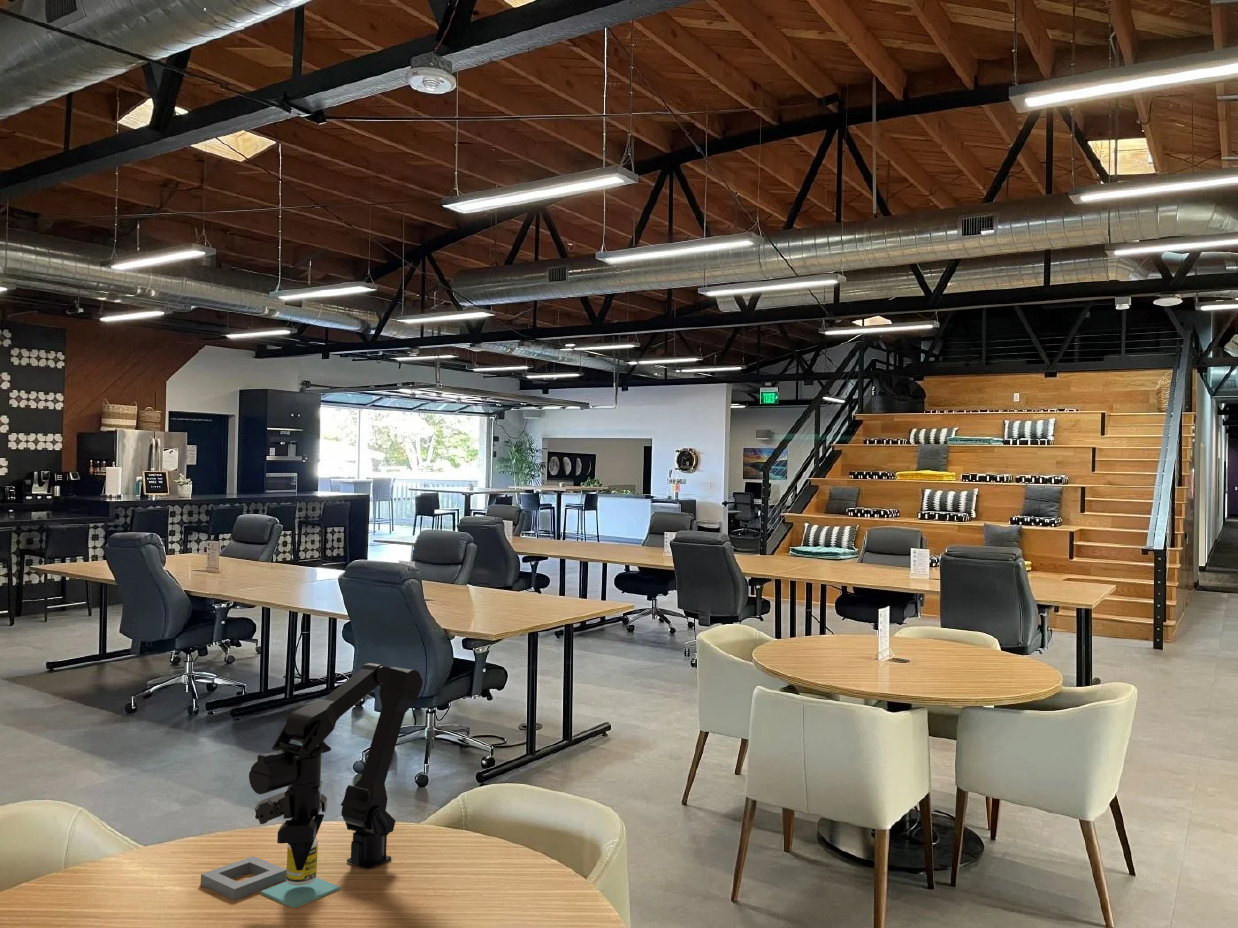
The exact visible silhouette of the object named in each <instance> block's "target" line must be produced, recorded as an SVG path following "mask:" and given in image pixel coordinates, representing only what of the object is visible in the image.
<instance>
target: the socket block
mask: <svg viewBox="0 0 1238 928" xmlns="http://www.w3.org/2000/svg"><path fill="white" fill-rule="evenodd" d="M286 870H287V868H285V867H281V866H279V865H276V864H274V863H271V862H268V860H267V861H266V860H264V859H262V858H259V857H256V856H254V855H252V856H249V857H247V858H244V859H243V858H242V859H241V860H238V861H235V862H232V863H229V864H226V865H224V866H219V867H217V868H213V869H211V870H209V871H206V872H203V873H201V874H200V886H202V887H205V888H206V889H209V890H211V891H213V892H215V893H217V894H220V895H222V896H224V897H227V898H228V899H231V900H232V901H236V900H238V899H241V898H244V897H247V896H249V895H251V894H254V893H256V892H261V891H263V890H265V889H268V888H271V887H273V886H276V885H278V884H281V883H284V882H286ZM246 874H251V875H254V876H251V877H248V878H246V879H243V880H240V881H237V880H235V878H238V877H241V876H244V875H246Z"/></svg>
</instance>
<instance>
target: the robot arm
mask: <svg viewBox="0 0 1238 928" xmlns="http://www.w3.org/2000/svg"><path fill="white" fill-rule="evenodd" d="M378 687H379V690H378V691H379V692H378V694H379V695H378V696H379V700H380V705H381V710H380V712H379V716H378V719H377V724H376V726H375V730H374V733H373V737H372V739H371V743H370V747H369V749H368V753H367V756H366V759H365V763H364V766H363V768H362V772H361V776H360V778H359V780H357V781H356V782H355V784H354V785H351V784H348V785H347V787H346V788H345V793H344V796H343V797H344V798H343V800H342V801H341V803H340V806H342V807H341V817H342V818H343V821H344V822H345V826H346V829H347V831H353V832H352V841H351V844H350V858H347V859H346V862H347V863H348V864H350V865H353V866H357V867H359V868H362V869H364V870H370V869H373V868H375V867H377V866H380V865H382V864H384V863H388V862H389V861H391V860H392V856H389V855H387V846H388V845H387V844H388V842H387V840H388V836H389V834H390V833H392V832H394V829H395V825H396V819H395V818H394V817H392V815H391V814H390V813H389V812H388V811H387V810H386V809H387V804H388V794H387V793H388V792H387V790H386V789H387V788H386V784H385V783H386V780H387V776H388V772H389V771H390V770H389V769H390V766H391V763H392V759H393V756H394V752H395V749H396V746H397V742H398V739H399V735H400V731H401V728H402V725H403V721H404V718H405V715H406V713H407V712H408V711H409V710H410V709H411V707H413V705H414V704H415V703H416V702H417V700H418V698H419V695H420V693H421V690H422V688H423V678H422V676H421V674H420V672H419V671H418V670H416V669H409V668H402V667H395V666H391V667H388V666H386V665H384V664H381V663H380V664H379V663H373V662H368V663H365V664H363V665H362V667H361V668H360V670H358V671H357V672H356V673H354V674H353V675H352V676H351V677H350V678H348V679H347V680H346V681H344V682H343V683H342V684H341V685H339V686H338V687H337V688H335V689H334V690H333V691H331V692H330V693H329V694H327V695H326V696H325V697H324V698H322V699H320V700H319V701H317V702H313V703H310V704H306V705H304V706H302V707H300V708H299V709H296V710H294V711H293V712H291V713H290V714H289V715H288V717H287V718H286V720H285V721H286V722H285V724H284V726H283V728H282V729H281V731H280V733H279V735H278V737H277V738H276V740H275V742H274V743H273V746H272V747H271V750H272V751H271V752H268V753H265V752H264V753H260V754H258V755H257V759H256V760H257V761H255V762H254V764H252V766H251V768H250V771H249V773H248V779H249V780H248V781H249V784H250V787H251V789H252V790H253V792H255V793H256V794H257V795H263V794H267V793H271V792H274V791H277V790H280V789H282V788H286V789H285V791H284V792H280V793H278V794H275V795H272V796H269V797H267V798H264V799H262V800H260V801H259V802H257V804H256V806H255V807H254V810H255V811H254V812H255V815H254V818H255V820H258V822H259V824H260V825H264V824H267V822H268V821H269V822H270V821H271V820H274V819H277V818H279V817H283V820H284V822H283V823H282V824H281V826H280V827H279V828H278V831H277V839H276V841H277V844H280V845H281V844H287V845H288V844H289V845H290V846H291V850H292V854H293V858H294V862H295V866H296V870H303V868H304V865H305V863H306V860H307V858H308V855H309V853H310V850H311V848H312V845H313V843H314V840H315V838H317V835H318V832H319V829H320V828H321V825H322V822H323V820H324V817H325V814H323V813H326V811H327V808H328V798H327V796H326V795H324V793H321V789H322V787H323V780H322V754H325V753H328V752H331V751H332V747H331V746H329V745H328V744H327V743H326V742H325V740H326V739H327V738H328V737H329V735H331V733H332V732H333V731H334V729H335V728H336V727H335V726H336V724H337V722H338V720H339V719H340V718H341V717H342V716H343V715H344V714H346V713H347V712H348V711H349V710H350V709H352V708H353V707H354V706H356V705H357V704H358V703H359V702H360V701H362V700H363V699H364V698H365V697H366V696H368V695H369V694H370V693H371V692H372V691H374V690H375V689H377V688H378ZM292 742H295V743H299V744H302V745H299V744H295V743H292ZM320 811H321V812H322V813H321V814H320ZM285 819H286V820H285Z"/></svg>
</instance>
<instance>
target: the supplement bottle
mask: <svg viewBox="0 0 1238 928" xmlns="http://www.w3.org/2000/svg"><path fill="white" fill-rule="evenodd" d="M318 846H319V840H318V838H317V837H316V838H315V840H314V843H313V845H312V848H311V850H310V853H309V855H308V858H307V860H306V863H305V865H304V868H303V870H296V866H295V862H294V858H293V854H292V850H291V846H290V845H289V844H288V843H287V849H286V851H287V852H286V869H287V870H286V881H287V883H289V884H291V885H305V884H309V883H311V882H313V881H314V880H315V879H316V877H317V871H318V870H317V868H318V849H319V847H318ZM286 881H285V882H286Z"/></svg>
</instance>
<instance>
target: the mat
mask: <svg viewBox="0 0 1238 928" xmlns="http://www.w3.org/2000/svg"><path fill="white" fill-rule="evenodd" d="M340 889H341V886H339V885H336V884H334V883H332V882H329V881H327V880H324V879H322V878H319V877H318V876H316V879H315V880H314V881H313V882H311V883H309V884H305V885H291V884H289V883H287V881H283V882H280V883H278V884H275V885H273V886H270V887H267V888H265V889H262V890H260V894H261V895H263V896H265V897H267V898H270V899H271V900H274V901H276V902H279V903H281V904H283V905H285V906H287V907H290V908H291V909H296V908H298V907H301V906H303V905H306V904H309V903H311V902H313V901H315V900H318V899H320V898H322V897H325V896H328V895H330V894H332V893H334V892H337V891H339V890H340Z"/></svg>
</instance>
